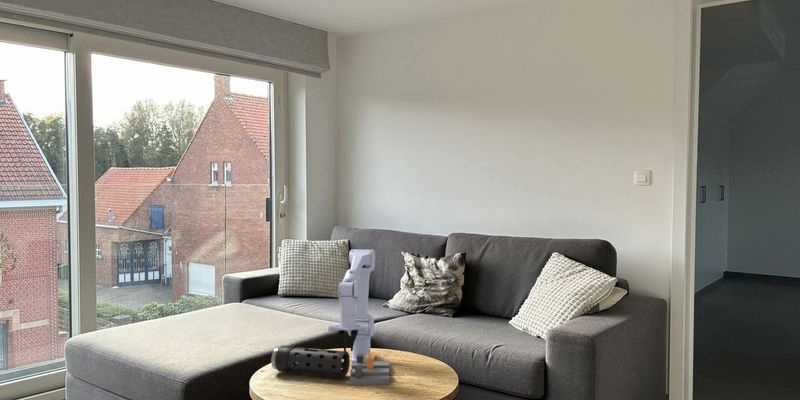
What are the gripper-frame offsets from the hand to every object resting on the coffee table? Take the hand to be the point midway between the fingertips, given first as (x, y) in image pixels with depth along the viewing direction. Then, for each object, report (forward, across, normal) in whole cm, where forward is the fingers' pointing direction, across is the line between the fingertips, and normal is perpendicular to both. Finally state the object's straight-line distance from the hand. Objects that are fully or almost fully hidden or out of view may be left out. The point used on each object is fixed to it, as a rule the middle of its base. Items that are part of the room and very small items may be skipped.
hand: (348, 350), depth 225 cm
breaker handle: (+7, +8, 0) cm, 11 cm away
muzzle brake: (+10, -14, +1) cm, 17 cm away
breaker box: (+9, +8, 0) cm, 12 cm away
